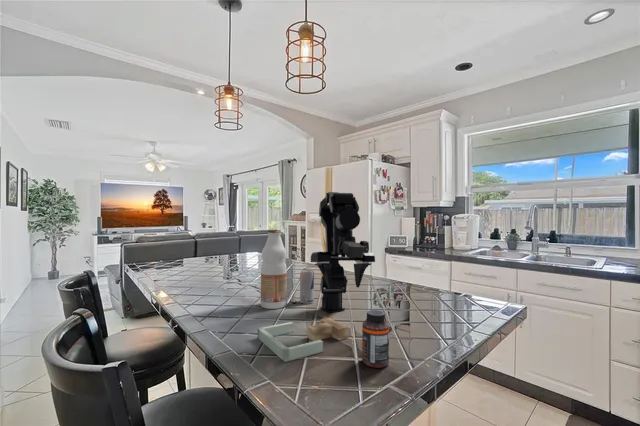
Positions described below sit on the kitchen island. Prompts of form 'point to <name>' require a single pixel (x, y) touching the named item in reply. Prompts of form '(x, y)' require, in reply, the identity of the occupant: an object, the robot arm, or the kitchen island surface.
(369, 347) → the supplement bottle
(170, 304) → the kitchen island surface
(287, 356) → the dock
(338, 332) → the t block
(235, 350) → the kitchen island surface
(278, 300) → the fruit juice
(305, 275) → the energy drink
